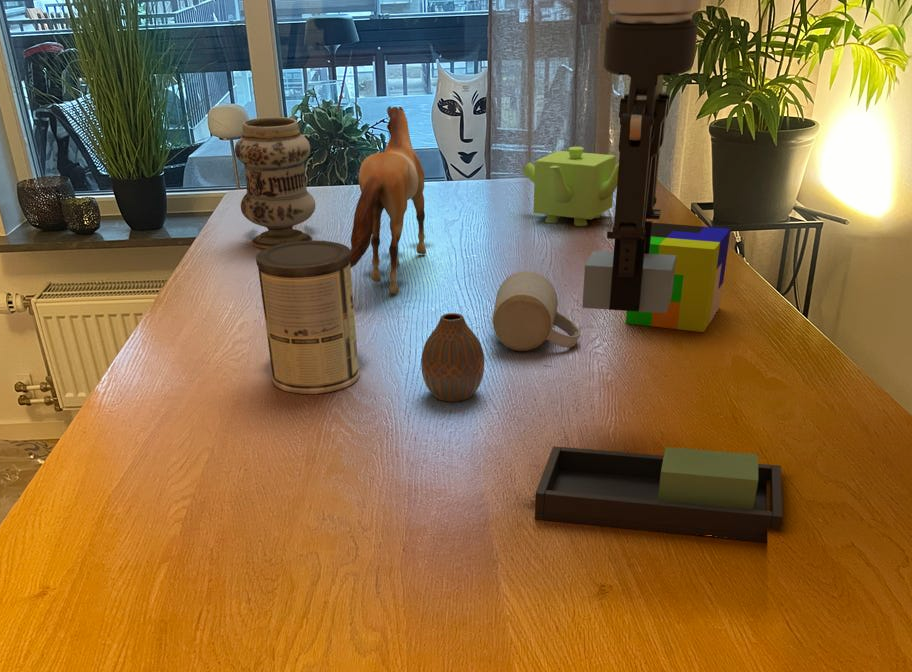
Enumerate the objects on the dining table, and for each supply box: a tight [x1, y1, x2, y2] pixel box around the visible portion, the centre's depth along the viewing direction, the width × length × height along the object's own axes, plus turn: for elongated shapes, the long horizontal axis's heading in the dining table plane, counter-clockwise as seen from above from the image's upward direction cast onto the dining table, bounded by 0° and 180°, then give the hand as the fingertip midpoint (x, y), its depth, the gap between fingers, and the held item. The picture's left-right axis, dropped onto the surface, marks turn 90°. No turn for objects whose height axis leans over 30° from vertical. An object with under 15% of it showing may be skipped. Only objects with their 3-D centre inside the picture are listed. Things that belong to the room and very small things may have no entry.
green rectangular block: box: [658, 446, 759, 510], centre depth 88 cm, size 8×5×4 cm, turn 75°
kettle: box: [521, 146, 619, 227], centre depth 169 cm, size 15×14×11 cm
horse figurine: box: [350, 106, 427, 295], centre depth 143 cm, size 31×8×21 cm, turn 167°
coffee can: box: [255, 240, 361, 395], centre depth 113 cm, size 10×10×14 cm
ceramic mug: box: [492, 270, 581, 352], centre depth 122 cm, size 11×8×8 cm
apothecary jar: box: [234, 116, 317, 250], centre depth 160 cm, size 12×12×18 cm
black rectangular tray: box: [534, 446, 784, 543], centre depth 89 cm, size 21×10×3 cm, turn 75°
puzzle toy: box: [625, 222, 731, 333], centre depth 128 cm, size 10×10×10 cm
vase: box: [420, 312, 485, 403], centre depth 109 cm, size 7×7×9 cm
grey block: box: [581, 250, 676, 313], centre depth 96 cm, size 8×5×4 cm, turn 74°
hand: (627, 299), depth 97 cm, fingers closed on grey block, 5 cm apart
